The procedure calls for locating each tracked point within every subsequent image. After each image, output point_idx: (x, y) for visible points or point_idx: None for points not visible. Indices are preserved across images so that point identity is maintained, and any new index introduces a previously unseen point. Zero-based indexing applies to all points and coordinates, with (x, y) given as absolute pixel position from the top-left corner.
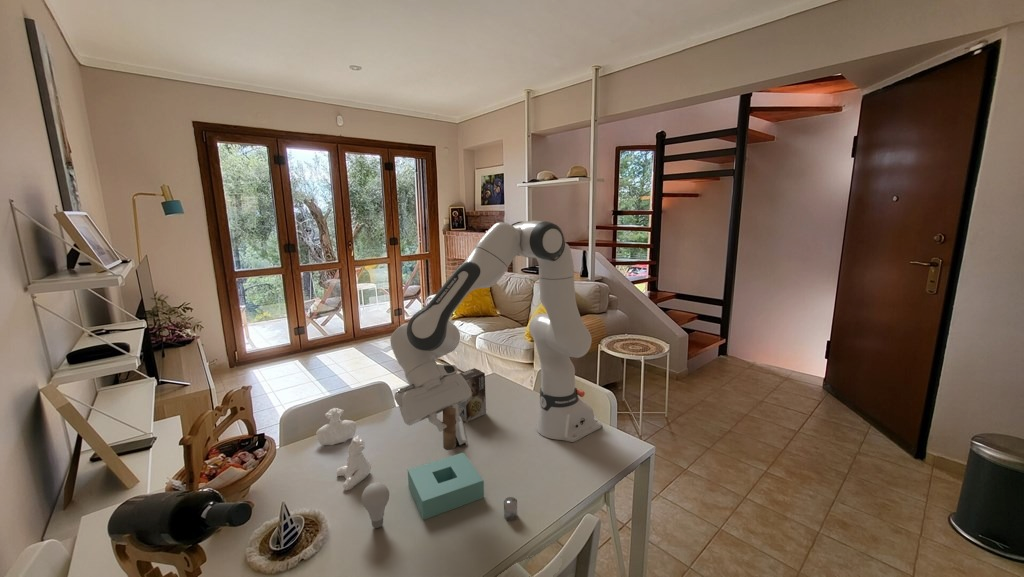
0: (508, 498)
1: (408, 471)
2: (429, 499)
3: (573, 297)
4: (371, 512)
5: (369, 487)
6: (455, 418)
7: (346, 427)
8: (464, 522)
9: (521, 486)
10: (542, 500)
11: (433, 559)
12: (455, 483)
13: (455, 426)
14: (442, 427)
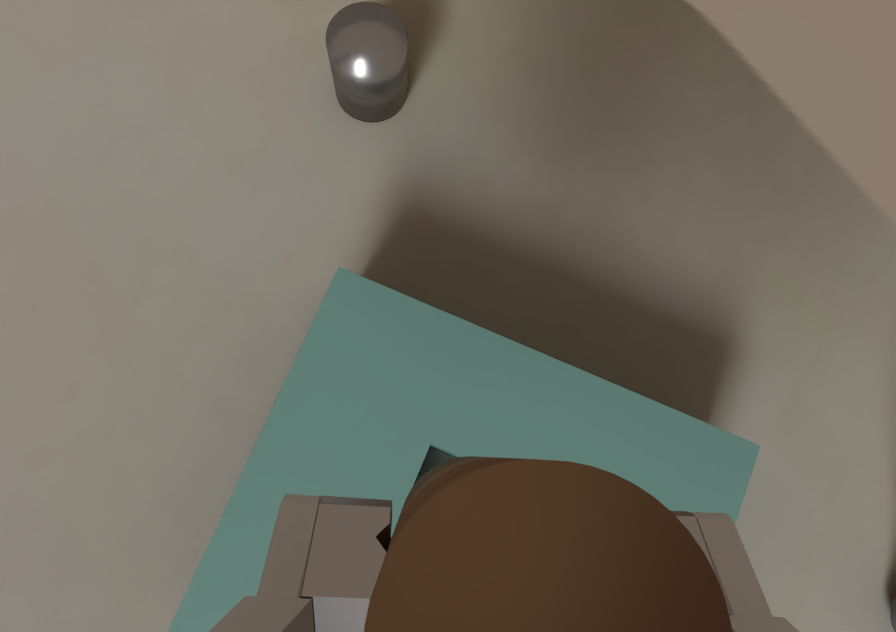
0: (351, 64)
1: None
2: (711, 426)
3: None
4: None
5: None
6: (424, 493)
7: None
8: (563, 250)
9: (128, 180)
10: (163, 21)
11: (815, 204)
12: (489, 404)
13: (432, 478)
14: (724, 525)
